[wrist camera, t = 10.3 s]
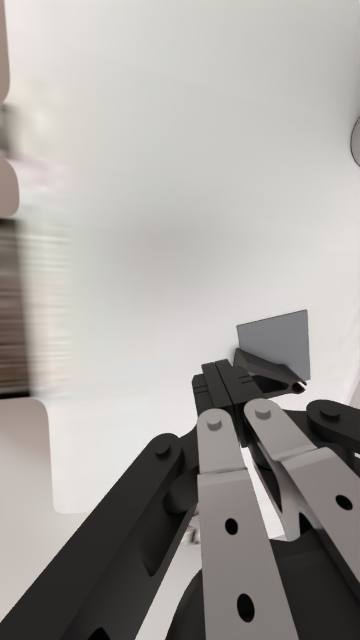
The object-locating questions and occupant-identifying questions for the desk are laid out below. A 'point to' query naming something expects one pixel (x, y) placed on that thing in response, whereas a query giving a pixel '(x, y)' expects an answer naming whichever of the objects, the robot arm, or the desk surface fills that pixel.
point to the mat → (279, 341)
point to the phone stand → (269, 375)
